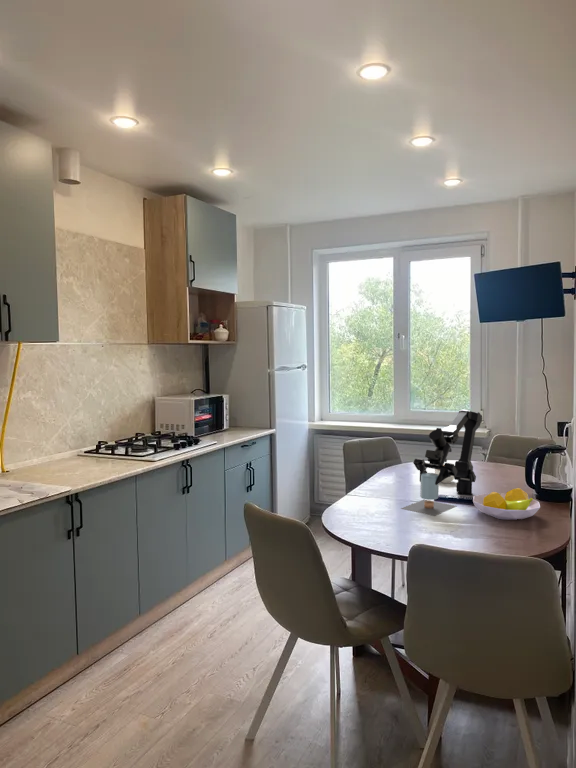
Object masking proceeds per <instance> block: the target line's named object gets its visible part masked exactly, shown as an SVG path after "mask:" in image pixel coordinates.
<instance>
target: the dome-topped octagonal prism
mask: <svg viewBox="0 0 576 768" xmlns="http://www.w3.org/2000/svg"><path fill="white" fill-rule="evenodd" d="M437 477H438V474H435V472H427V473H422V474H421V482H420V496H419V497H420V498H421V499H422V500H430V501H434V500H435V501H436V500H437V499H439V488H440V487H439V484H440V483H439V484H437V485H436V484H435V482H436V480H437Z"/></svg>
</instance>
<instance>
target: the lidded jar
mask: <svg viewBox="0 0 576 768" xmlns="http://www.w3.org/2000/svg"><path fill="white" fill-rule="evenodd" d="M443 466H444V465H443ZM434 473H435V474H438V475H439V473H440V470H438V469H434ZM453 480H455V479H454V476H450V477H447V478H446V479H444V480H443V481H441V482H440V483H442V484H451V483H452V482H453Z"/></svg>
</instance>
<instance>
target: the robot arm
mask: <svg viewBox="0 0 576 768" xmlns="http://www.w3.org/2000/svg"><path fill="white" fill-rule="evenodd" d="M482 415H483V414H481V413H480V412H479V411H477V412H476V411H472V410H470V409H459V410H458V413H457V415H456V416H455V417H454V419H453V420H452V421H451V423H450V424H449V426H445V427H443V428H439V427H436V429H433V430H431V432H430V433H429V434H428V438H429V439H430V441H431V443H432V445H433V446H434V447H435V449H434V450H431V449H426V451H425V454H424V457H425V458H427V462H425V459H423V458H417V457H416V458H414V460H413V462H412V463H413V466H414V467H415V468H416V470H417V471H419V483H421V474H422V473H428V471H427V469H434V470H435V469H438V470H440V473H439V475H438V477H437V480H436V482H435V484H436V485H437V484H440V483H441V481H443V480H444V479H446V478H447V477H450V476H454V480H456V481H457V482H456V486H455V489H456V493H457V495H467V496H473V483H475V482H476V478H477V475H476V473H475V472H474V465H473V463H472V455H473V449H474V448H473V447H474V443H475V437H476V436H475V435H476V431H478V429H479V428H480V427H481V423H482V421H483V416H482ZM463 427H464V432H463V433H464V435H463V439H462V440H463V441H462V445H461V451H460V452H461V453H460V458H459V459H458V460H456V461H455V463H450V462H448V460H447V458H448V455H449V453H452V451H453V450H452V446H451V445H450V444H453V445H455V444H456V443H457V442H458V439H459V432H460V431H461V430H462V429H463ZM443 465H444V466H443Z"/></svg>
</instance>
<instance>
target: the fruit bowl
mask: <svg viewBox="0 0 576 768" xmlns="http://www.w3.org/2000/svg"><path fill="white" fill-rule="evenodd" d="M472 502H473V505H474V506H475V508H476V509H477V510H479V511H480V512H481V513H483V514H486V515H488V516H491V517H493V518H496V519H498V520H517V519H521V520H524V519H526V518H530V517H533V516H534V515H535V514H536V513H538V511H539V510H540V508H541V505H540V502H539V501H538V500H536V499H533V498H532V497H530V498H529V495H528V493H527V492H526V491H524V490H523V489H522V488H520V487H517V488H512V489H511V490H508V491H507V492H506V493H500V492H497V491H492V492H490V493H489V492H488V493H487V492H486V493H482V494H481V493H480V494H476V495H473V498H472Z"/></svg>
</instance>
